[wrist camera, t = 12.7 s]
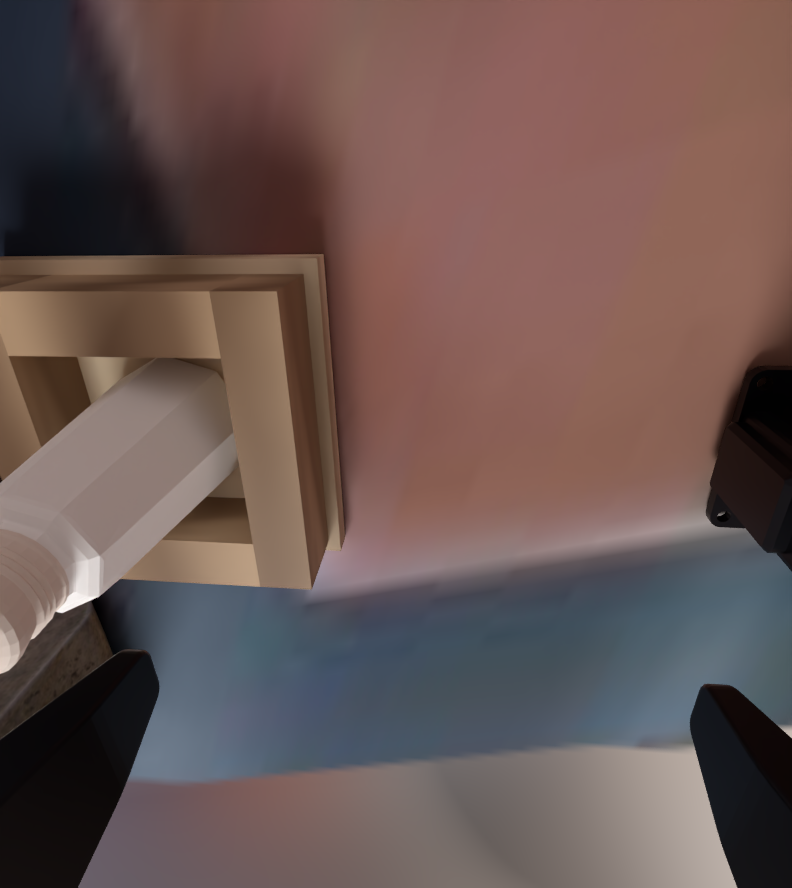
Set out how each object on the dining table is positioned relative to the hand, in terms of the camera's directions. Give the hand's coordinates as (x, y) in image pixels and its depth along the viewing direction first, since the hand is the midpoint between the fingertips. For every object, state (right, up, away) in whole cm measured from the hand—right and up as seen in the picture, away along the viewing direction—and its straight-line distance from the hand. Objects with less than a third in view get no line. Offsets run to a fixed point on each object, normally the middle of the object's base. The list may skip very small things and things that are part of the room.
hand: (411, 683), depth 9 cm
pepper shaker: (-8, +5, +12) cm, 16 cm away
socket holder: (-9, +5, +13) cm, 16 cm away
